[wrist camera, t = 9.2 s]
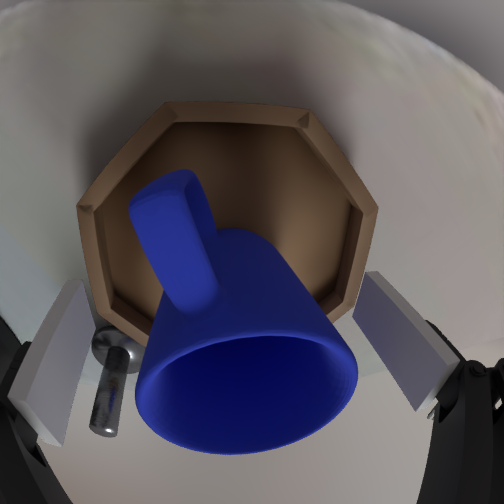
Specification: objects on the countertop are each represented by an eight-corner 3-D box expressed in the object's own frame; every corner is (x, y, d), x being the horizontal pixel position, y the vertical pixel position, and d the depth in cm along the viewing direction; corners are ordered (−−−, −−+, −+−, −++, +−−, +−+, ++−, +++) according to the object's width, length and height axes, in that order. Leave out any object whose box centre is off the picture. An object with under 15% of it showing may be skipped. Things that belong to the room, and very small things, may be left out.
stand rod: (102, 365, 23) (83, 441, 15) (87, 324, 21) (57, 405, 13) (152, 368, 24) (145, 449, 16) (143, 326, 21) (128, 415, 14)
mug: (253, 125, 14) (329, 139, 6) (302, 301, 20) (360, 420, 11) (112, 178, 14) (12, 264, 6) (192, 337, 20) (195, 466, 11)
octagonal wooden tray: (122, 335, 22) (114, 366, 18) (94, 111, 14) (71, 112, 11) (323, 328, 24) (337, 356, 21) (361, 121, 17) (391, 125, 14)
